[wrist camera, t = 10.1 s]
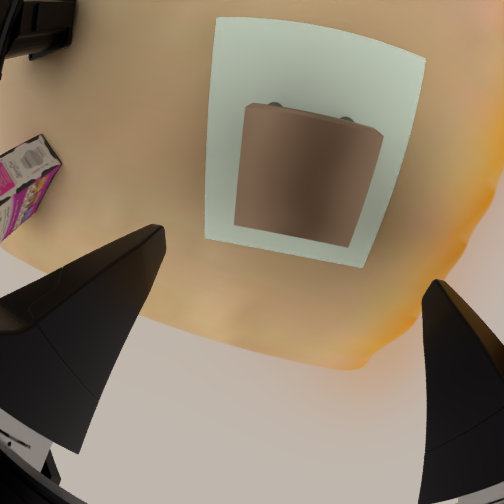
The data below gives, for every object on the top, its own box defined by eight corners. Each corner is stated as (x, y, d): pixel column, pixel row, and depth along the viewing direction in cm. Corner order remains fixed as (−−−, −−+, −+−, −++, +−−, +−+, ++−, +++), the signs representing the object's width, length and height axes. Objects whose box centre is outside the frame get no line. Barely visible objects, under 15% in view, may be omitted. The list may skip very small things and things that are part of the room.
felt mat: (206, 234, 24) (204, 238, 24) (219, 18, 13) (216, 17, 13) (361, 263, 23) (362, 268, 23) (422, 59, 12) (426, 59, 12)
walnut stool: (252, 183, 20) (233, 224, 15) (263, 96, 16) (245, 106, 11) (339, 200, 20) (348, 247, 15) (360, 116, 16) (384, 136, 11)
